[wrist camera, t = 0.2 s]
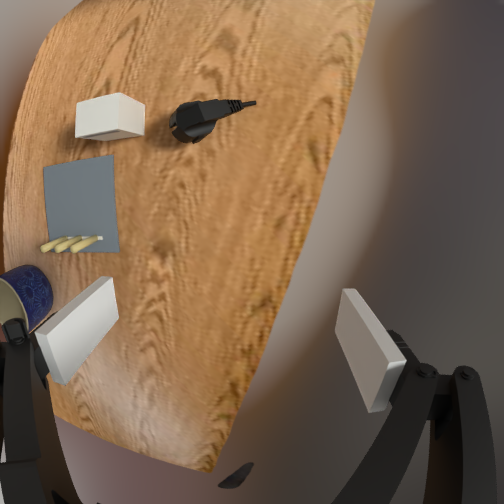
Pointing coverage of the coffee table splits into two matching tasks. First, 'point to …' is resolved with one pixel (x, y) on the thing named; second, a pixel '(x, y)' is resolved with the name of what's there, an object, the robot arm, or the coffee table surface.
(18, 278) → the planter
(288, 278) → the coffee table surface
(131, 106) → the block
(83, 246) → the board
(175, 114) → the power plug
